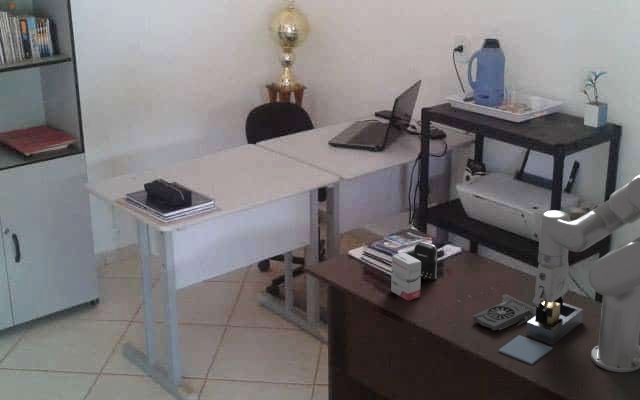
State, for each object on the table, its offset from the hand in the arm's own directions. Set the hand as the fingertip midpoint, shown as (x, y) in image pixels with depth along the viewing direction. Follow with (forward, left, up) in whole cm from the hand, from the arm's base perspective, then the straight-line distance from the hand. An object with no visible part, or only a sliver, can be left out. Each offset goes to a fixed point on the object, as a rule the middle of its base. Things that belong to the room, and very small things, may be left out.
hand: (548, 316), depth 234 cm
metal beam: (+29, -4, -6) cm, 30 cm away
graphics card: (+14, +1, -6) cm, 16 cm away
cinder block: (0, -3, -5) cm, 6 cm away
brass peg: (0, 0, -5) cm, 5 cm away
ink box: (+44, +7, -6) cm, 45 cm away
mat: (0, +12, -5) cm, 13 cm away
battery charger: (+46, -5, -6) cm, 47 cm away
